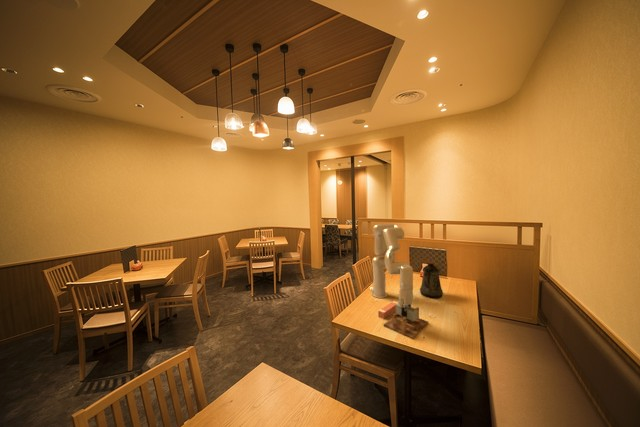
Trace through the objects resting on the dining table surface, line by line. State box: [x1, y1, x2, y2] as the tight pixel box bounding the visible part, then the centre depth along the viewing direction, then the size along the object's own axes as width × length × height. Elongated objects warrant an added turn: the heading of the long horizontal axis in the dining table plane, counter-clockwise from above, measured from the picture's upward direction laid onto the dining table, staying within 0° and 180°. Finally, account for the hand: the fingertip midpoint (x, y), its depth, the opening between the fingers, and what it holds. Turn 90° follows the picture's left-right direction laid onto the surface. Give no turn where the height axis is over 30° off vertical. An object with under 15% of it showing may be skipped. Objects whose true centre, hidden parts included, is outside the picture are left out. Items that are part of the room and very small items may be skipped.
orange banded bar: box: [377, 300, 399, 320], centre depth 151 cm, size 4×20×5 cm, turn 133°
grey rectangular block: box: [395, 302, 418, 321], centre depth 136 cm, size 12×4×6 cm, turn 35°
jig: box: [383, 306, 429, 340], centre depth 136 cm, size 18×22×9 cm
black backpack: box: [419, 263, 444, 300], centre depth 176 cm, size 16×19×25 cm
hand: (406, 314), depth 136 cm, fingers closed on grey rectangular block, 5 cm apart
